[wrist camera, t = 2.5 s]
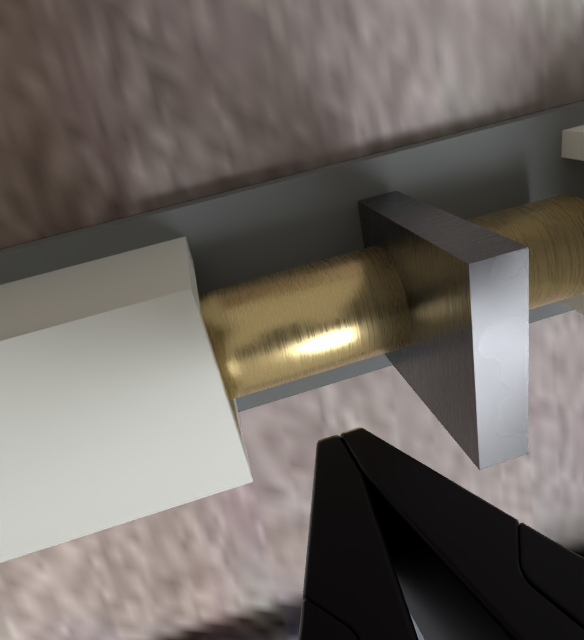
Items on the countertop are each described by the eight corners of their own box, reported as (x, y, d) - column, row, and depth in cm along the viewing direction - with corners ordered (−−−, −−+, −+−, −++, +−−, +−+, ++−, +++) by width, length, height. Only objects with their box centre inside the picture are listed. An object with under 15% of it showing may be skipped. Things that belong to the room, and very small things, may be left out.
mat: (12, 470, 17) (6, 482, 16) (-105, 276, 14) (-116, 283, 13) (697, 262, 19) (712, 267, 19) (729, 62, 16) (749, 61, 16)
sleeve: (8, 459, 16) (-44, 576, 12) (-83, 306, 13) (-185, 392, 10) (234, 392, 17) (253, 481, 13) (185, 236, 14) (191, 288, 10)
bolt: (38, 450, 16) (-32, 641, 10) (-42, 306, 13) (-187, 451, 8) (536, 301, 17) (703, 394, 12) (538, 152, 15) (744, 184, 10)
